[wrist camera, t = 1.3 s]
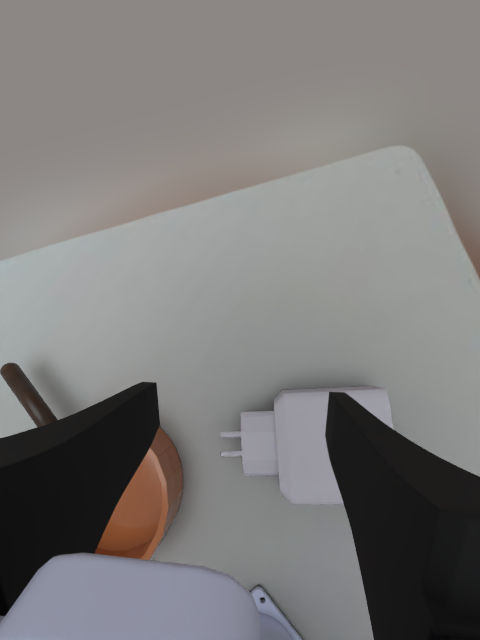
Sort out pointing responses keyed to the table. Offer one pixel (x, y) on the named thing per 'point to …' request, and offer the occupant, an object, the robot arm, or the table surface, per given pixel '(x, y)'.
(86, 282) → the table surface
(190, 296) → the table surface
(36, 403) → the pan handle
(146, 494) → the pan
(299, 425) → the charger
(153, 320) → the table surface
